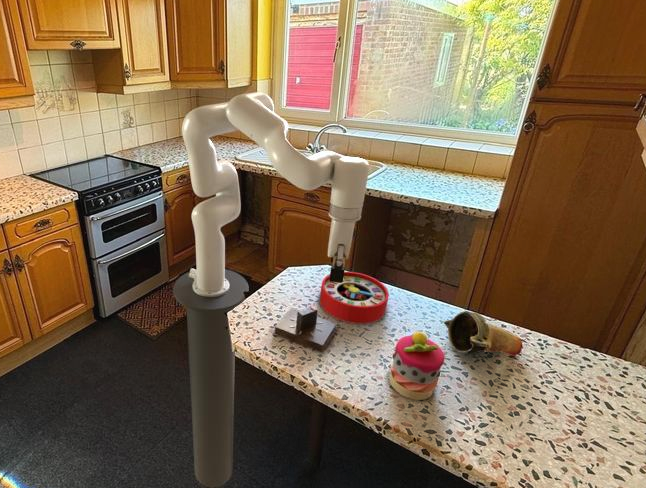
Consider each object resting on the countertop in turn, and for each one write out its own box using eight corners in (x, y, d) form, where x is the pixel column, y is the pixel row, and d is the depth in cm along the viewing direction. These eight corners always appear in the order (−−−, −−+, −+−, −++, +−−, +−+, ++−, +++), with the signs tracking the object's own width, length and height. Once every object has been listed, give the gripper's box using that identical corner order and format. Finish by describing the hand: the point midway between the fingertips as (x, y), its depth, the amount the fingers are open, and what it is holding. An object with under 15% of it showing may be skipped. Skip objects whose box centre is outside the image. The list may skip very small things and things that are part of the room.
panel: (274, 333, 113) (275, 326, 112) (290, 313, 121) (291, 306, 120) (321, 352, 106) (322, 344, 105) (335, 330, 115) (336, 322, 113)
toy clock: (328, 266, 135) (391, 279, 128) (326, 281, 138) (387, 295, 131) (315, 297, 119) (385, 314, 112) (313, 313, 122) (382, 330, 114)
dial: (300, 329, 111) (302, 314, 108) (296, 325, 112) (297, 310, 110) (316, 324, 113) (318, 309, 111) (311, 320, 115) (313, 305, 112)
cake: (379, 369, 101) (391, 322, 94) (418, 365, 102) (432, 318, 95) (401, 403, 91) (415, 353, 85) (444, 398, 93) (461, 348, 86)
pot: (550, 341, 97) (485, 319, 96) (531, 383, 98) (466, 362, 97) (499, 318, 114) (443, 299, 113) (484, 353, 116) (428, 335, 114)
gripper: (330, 196, 103) (323, 254, 111) (327, 222, 88) (319, 287, 96) (360, 199, 102) (351, 257, 109) (363, 226, 87) (351, 292, 94)
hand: (336, 271), depth 103 cm, fingers open, 9 cm apart
